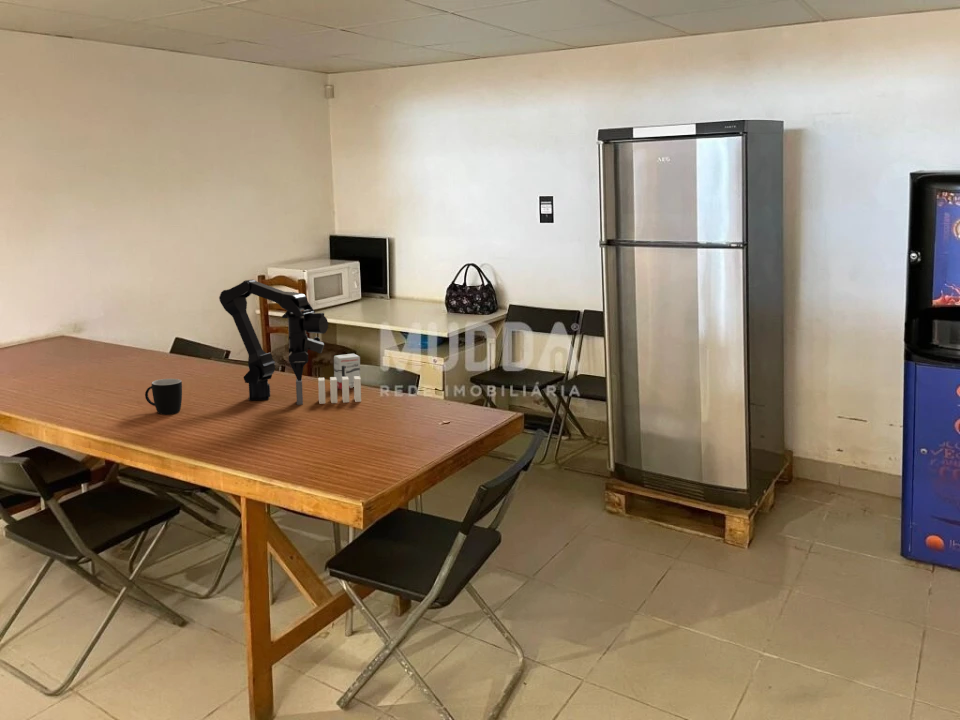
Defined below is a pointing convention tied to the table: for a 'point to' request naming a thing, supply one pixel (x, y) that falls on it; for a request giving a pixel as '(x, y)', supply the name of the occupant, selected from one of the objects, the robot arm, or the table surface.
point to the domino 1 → (299, 392)
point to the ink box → (346, 368)
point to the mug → (166, 395)
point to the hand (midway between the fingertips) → (299, 377)
